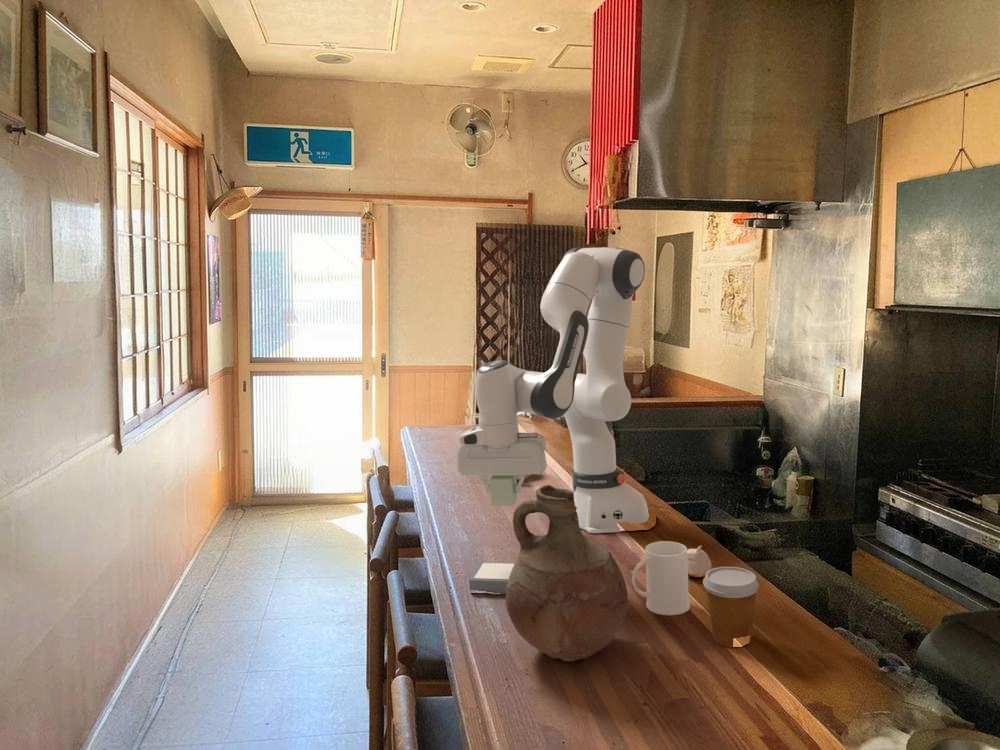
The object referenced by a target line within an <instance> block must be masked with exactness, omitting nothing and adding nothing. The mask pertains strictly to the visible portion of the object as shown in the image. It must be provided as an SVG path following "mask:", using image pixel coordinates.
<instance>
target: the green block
mask: <svg viewBox="0 0 1000 750" xmlns="http://www.w3.org/2000/svg"><path fill="white" fill-rule="evenodd" d="M517 481H518V480H516V474H515V475H491V477H490V478H489V482H490V491H491V493H490V500H491V506H514V505H515V504H516V502H517V501H518V499H519V495H518V494H519V493H514V485H515V484H518V482H517Z"/></svg>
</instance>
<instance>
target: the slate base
mask: <svg viewBox="0 0 1000 750" xmlns="http://www.w3.org/2000/svg"><path fill="white" fill-rule="evenodd" d="M514 564H515V562H494V561H493V562H485V561H484V562H483V561H482V562H480V563H479V564H478V565H477V568H476V569H475V571H474V572H473V573H472V575H471V576H470V578H469V580H468V583H469V591H470V590H478V591H486V592H493V593H500V594H506V588H507V583H508V579H509V576H510V573H511V571H512V568H513V566H514Z"/></svg>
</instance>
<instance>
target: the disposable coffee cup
mask: <svg viewBox="0 0 1000 750" xmlns="http://www.w3.org/2000/svg"><path fill="white" fill-rule="evenodd" d="M702 584H703V587H704V588H705V592H706V597H707V603H708V604H707V605H708V610H709V616H710V622H711V629H712V634H713V640H714V642H715V643H716V644H718V645H720V646H722V647H725V648H730V649H731V648H732V649H734V648H733V639H734V638H740V637H746V636H749V635H750V634H751V635H752V631H753V629H752V628H753V621H754V611H755V604H756V597H757V595H756V594H757V592H758V589H759V587H760V583H759V581H758V580H757V577H756V575H755V573H754V572H752V571H751V570H748V569H746V568H742V567H738V566H737V567H736V566H720V567H714V568H711V570H709V571H707V573H706V575H705V577H703V580H702Z"/></svg>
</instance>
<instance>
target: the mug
mask: <svg viewBox="0 0 1000 750" xmlns="http://www.w3.org/2000/svg"><path fill="white" fill-rule="evenodd" d="M687 550H688V547H687V546H686V545H684V544H682V543H679V542H678V541H677V542H676V541H669V540H668V541H666V540H663V541H662V540H659V541H655V542H651V543H649V544H647V545H645V548H644V551H645V553H644V555H645V558H643V559H641V560H640V561H639V562H638V563H637V564H636V566H635V567H634V570H633V572H632V575H631V584H632V586H633V589H634V590H635V592H636V593H637V594H638V595H639V596H641V597H644V598H646V603H645V606H646V608H647V609H648V611H650V612H651V613H654V614H657V615H661V616H677V615H681V614H685V613H686V612H688V611H690V609H691V603H690V598H689V596H690V595H689V576H688V564H687ZM644 565H645V575H646V576H645V578H646V581H645V582H646V591H642V590H640V589H639V588H638V587H637V585H636V575H637V572H638V571H639V569H640V568H641V567H642V566H644Z"/></svg>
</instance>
